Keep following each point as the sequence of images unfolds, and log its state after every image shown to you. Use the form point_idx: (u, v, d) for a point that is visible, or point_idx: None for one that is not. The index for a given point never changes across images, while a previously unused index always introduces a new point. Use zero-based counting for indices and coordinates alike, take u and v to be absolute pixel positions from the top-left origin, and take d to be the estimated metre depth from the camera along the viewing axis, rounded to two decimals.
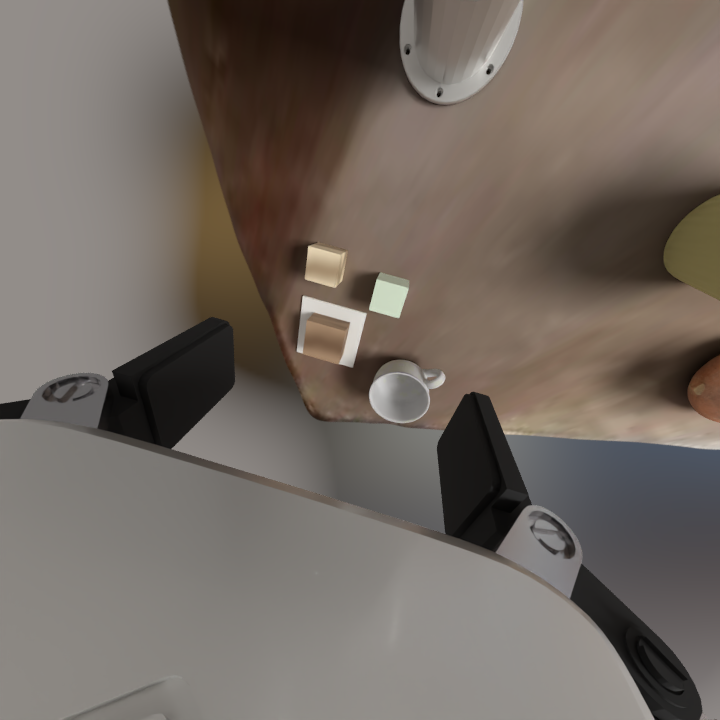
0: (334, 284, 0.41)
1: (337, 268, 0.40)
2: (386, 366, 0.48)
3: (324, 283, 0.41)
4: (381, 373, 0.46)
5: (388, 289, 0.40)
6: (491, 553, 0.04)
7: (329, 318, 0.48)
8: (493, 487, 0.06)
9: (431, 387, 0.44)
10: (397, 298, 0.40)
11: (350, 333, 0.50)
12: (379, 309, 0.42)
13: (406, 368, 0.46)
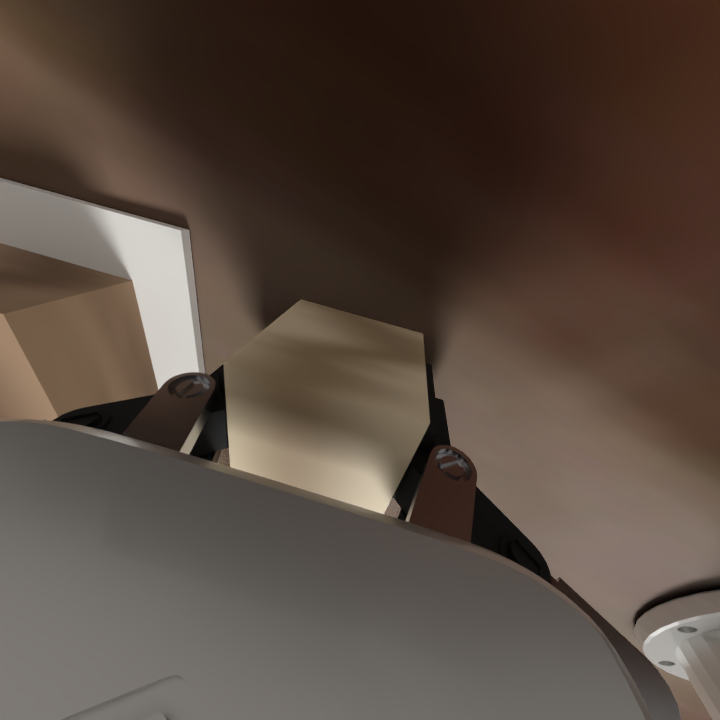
0: None
1: None
2: None
3: (235, 453, 0.08)
4: None
5: None
6: (491, 553, 0.04)
7: (132, 354, 0.12)
8: None
9: None
10: None
11: None
12: None
13: None
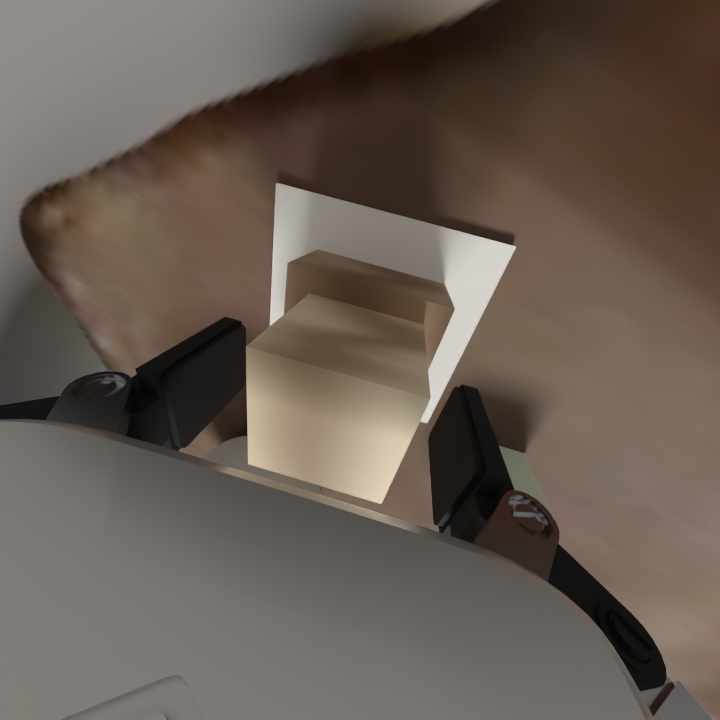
0: (260, 464, 0.09)
1: (327, 483, 0.09)
2: (302, 488, 0.19)
3: (253, 432, 0.09)
4: None
5: None
6: (491, 553, 0.04)
7: None
8: (476, 473, 0.07)
9: None
10: None
11: None
12: None
13: None
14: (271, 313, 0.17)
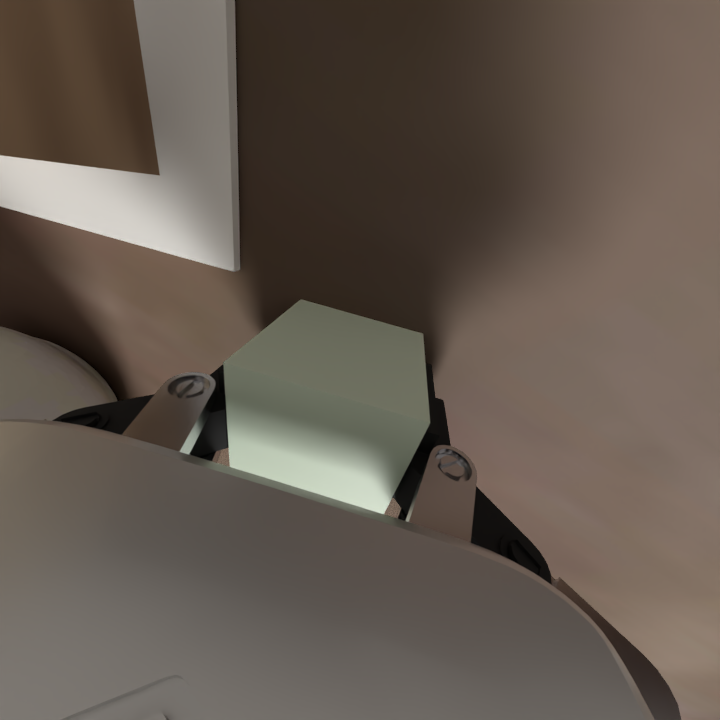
0: None
1: None
2: (8, 398, 0.10)
3: None
4: None
5: (365, 467, 0.07)
6: (491, 553, 0.04)
7: None
8: None
9: None
10: (322, 492, 0.08)
11: (104, 179, 0.09)
12: (243, 417, 0.07)
13: None
14: None
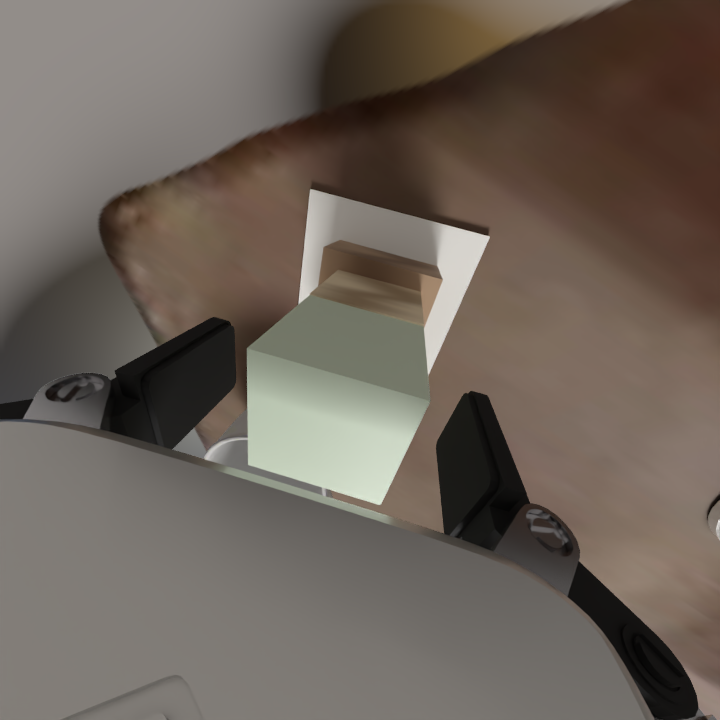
0: None
1: None
2: None
3: None
4: None
5: (372, 444, 0.08)
6: (491, 553, 0.04)
7: None
8: (491, 485, 0.06)
9: None
10: (332, 469, 0.09)
11: None
12: (262, 398, 0.08)
13: None
14: (300, 291, 0.21)
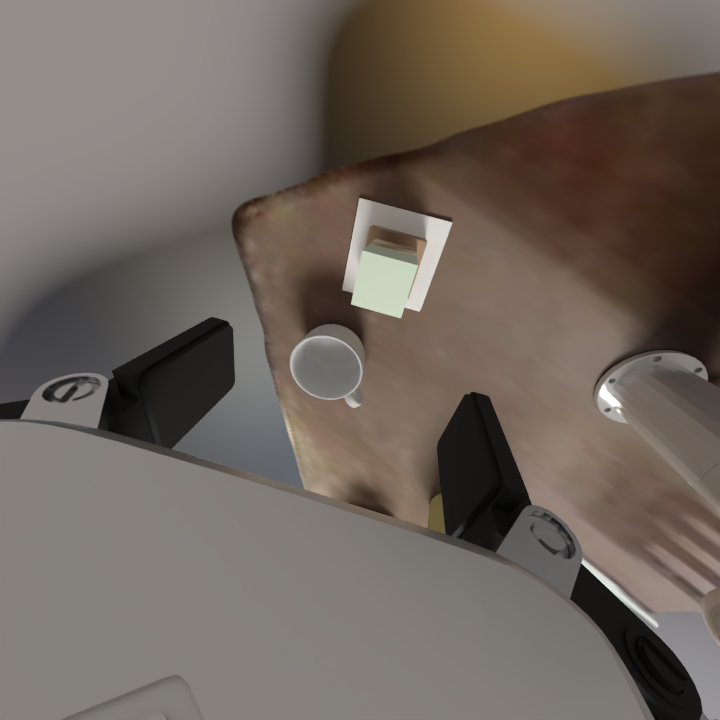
0: None
1: None
2: (359, 344, 0.39)
3: None
4: (354, 345, 0.37)
5: (399, 286, 0.24)
6: (491, 553, 0.04)
7: None
8: (493, 487, 0.06)
9: (347, 399, 0.40)
10: (384, 301, 0.25)
11: None
12: (363, 270, 0.24)
13: None
14: (349, 255, 0.37)
